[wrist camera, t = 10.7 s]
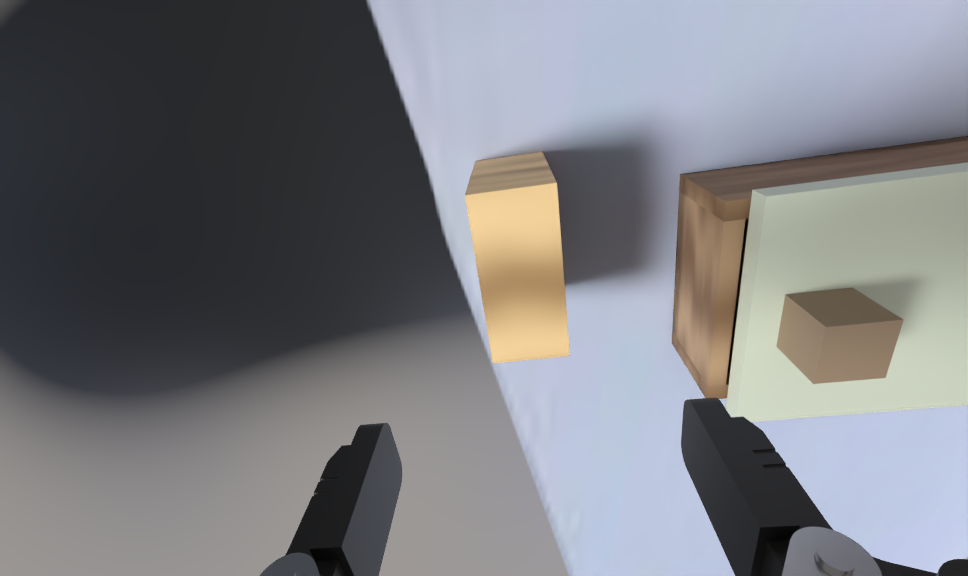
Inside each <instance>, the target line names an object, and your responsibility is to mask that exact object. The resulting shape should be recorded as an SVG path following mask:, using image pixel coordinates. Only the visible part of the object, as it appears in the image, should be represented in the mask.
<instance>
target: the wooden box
mask: <svg viewBox="0 0 968 576" xmlns="http://www.w3.org/2000/svg"><path fill="white" fill-rule="evenodd" d="M967 162H968V136H966V137H958V138H951V139H943V140H936V141H928V142H921V143H913V144H906V145H898V146H891V147H883V148H875V149H868V150H860V151H853V152H845V153H838V154H830V155H823V156H815V157H808V158H800V159H793V160H785V161H778V162H770V163H763V164H755V165H747V166H740V167H732V168H725V169H717V170H710V171H702V172H695V173H687V174H680V188H679V209H678V229H677V250H676V271H675V291H674V312H673V332H672V344H673V346H674V347H675V349H676V351H677V352H678V354H679V356H680V357H681V359H682V360H683V362H684V364H685V365H686V367H687V369H688V370H689V372H690V374H691V375H692V377H693V378H694V380H695V382H696V383H697V385H698V387H699V388H700V390H701V391H702V393H703V395H704V396H705V398H718V399H722V398H727V394H728V386H729V378H730V370H731V361H732V353H733V345H734V337H735V328H736V320H737V312H738V304H739V296H740V287H741V279H742V271H743V263H744V254H745V246H746V238H747V230H748V222H749V213H750V205H751V197H752V190H755V189H763V188H770V187H778V186H786V185H794V184H802V183H810V182H817V181H825V180H833V179H841V178H849V177H857V176H865V175H872V174H880V173H888V172H896V171H904V170H912V169H920V168H927V167H935V166H943V165H951V164H959V163H967Z"/></svg>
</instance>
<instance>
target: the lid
mask: <svg viewBox="0 0 968 576" xmlns="http://www.w3.org/2000/svg"><path fill="white" fill-rule="evenodd" d="M964 405H968V162H967V163H959V164H951V165H943V166H935V167H927V168H920V169H912V170H904V171H896V172H888V173H880V174H872V175H865V176H857V177H849V178H841V179H833V180H825V181H817V182H810V183H802V184H794V185H786V186H778V187H770V188H763V189H755V190H752V197H751V205H750V213H749V222H748V230H747V238H746V246H745V254H744V263H743V271H742V279H741V287H740V296H739V304H738V312H737V320H736V328H735V337H734V345H733V353H732V361H731V370H730V378H729V386H728V394H727V403H726V409H727V411H728V413H729V414H730V416H731V417H745V418H746V419H747V420H749V421H750V422H756V421H769V420H782V419H795V418H808V417H821V416H834V415H847V414H860V413H873V412H886V411H899V410H912V409H925V408H938V407H951V406H964Z"/></svg>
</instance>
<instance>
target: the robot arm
mask: <svg viewBox="0 0 968 576" xmlns="http://www.w3.org/2000/svg"><path fill="white" fill-rule="evenodd" d="M681 448H682V454H683V459H684V462H685V465H686V468H687V470H688V472H689V474H690V477H691V479H692V481H693V483H694V485H695V488H696V490H697V492H698V494H699V496H700V499H701V501H702V503H703V505H704V508H705V510H706V512H707V514H708V516H709V519H710V521H711V523H712V525H713V527H714V530H715V532H716V534H717V536H718V538H719V541H720V543H721V545H722V547H723V549H724V552H725V554H726V556H727V558H728V560H729V563H730V565H731V567H732V569H733V572H734V574H735V576H968V560H966V559H954V560H950V561H947V562H946V563H944V564H943V565H942V566H941V567H940V569H939V571H938V573H937V574H936V573H932V572H928V571H924V570H919V569H915V568H911V567H907V566H902V565H898V564H894V563H890V562H886V561H883V560H880V559H877V558H874V557H872V556H871V555H870V554H869V553H868V552H867V551H866V550H865V549H864V548H863V547H862V546H861V545H859V544H858V543H856V542H855V541H854V540H852V539H850V538H849V537H847V536H845V535H843V534H841V533H839V532H837V531H834V530H833V529H832V528H831V527H830V525H829V524H828V523H827V521H826V520H825V519H824V517H823V516H822V514H821V513H820V511H819V510H818V509H817V507H816V506H815V504H814V503H813V502H812V500H811V499H810V497H809V496H808V494H807V493H806V492H805V490H804V489H803V487H802V486H801V485H800V483H799V482H798V480H797V479H796V478H795V476H794V475H793V473H792V472H791V470H790V469H789V468H788V467H786V463H785V462H784V461H783V459H782V458H781V456H780V455H779V454H778V452H776V451H775V448H774V446H773V445H772V444H771V442H770V441H769V439H768V438H767V437H766V435H765V434H764V432H763V431H762V430H761V429H759V428H758V427H757V426H755V425H754V424H753V423H751V422H750V421H749V420H747V419H746V418H745V417H730V415H729V414H728V412H727V411H726V409H725V407H724V406H723V404H722V403H721V401H720V400H719V399H718V398H703V399H691V400H686V401H685V402H684V410H683V424H682V437H681ZM401 482H402V465H401V460H400V457H399V454H398V451H397V447H396V444H395V441H394V438H393V435H392V432H391V428H390V426H389V424H388V423H380V424H367V425H360V426H359V427H358V429H357V431H356V434H355V436H354V439H353V441H352V444H351V445H346V446H341V447H340V448H339V450H338V451H337V452H336V453H335V454H334V455H333V456H332V457H331V458H330V460H329V461H328V463H327V465H326V467H325V469H324V471H323V473H322V476H321V478H320V482H318V485H317V487H316V489H315V491H314V496H312V498H311V500H310V502H309V505H308V507H307V509H306V512H305V514H304V516H303V518H302V520H301V523H300V525H299V527H298V530H297V531H296V534H295V536H294V538H293V540H292V543H291V545H290V547H289V549H288V551H287V553H286V555H285V556H283V557H281V558H279V559H277V560H276V561H274V562H273V563H272V564H271V565H269V566H268V567H267V568H266V569H265V570H264V571H263V572H262V573H261V574H260V576H378V575H379V571H380V567H381V563H382V559H383V555H384V551H385V547H386V543H387V539H388V535H389V531H390V527H391V523H392V519H393V515H394V511H395V507H396V503H397V499H398V495H399V491H400V487H401Z"/></svg>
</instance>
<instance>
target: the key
mask: <svg viewBox="0 0 968 576" xmlns="http://www.w3.org/2000/svg"><path fill="white" fill-rule="evenodd" d="M465 199H466V205H467V211H468V217H469V223H470V229H471V235H472V241H473V247H474V253H475V259H476V265H477V271H478V277H479V283H480V289H481V295H482V300H483V306H484V312H485V318H486V324H487V330H488V336H489V342H490V348H491V354H492V360H493V363H500V362H511V361H521V360H531V359H542V358H552V357H563V356H570V352H569V338H568V325H567V311H566V298H565V284H564V271H563V257H562V244H561V230H560V217H559V203H558V190H557V182H556V180H555V177H554V175H553V173H552V171H551V169H550V167H549V165H548V162H547V160H546V158H545V156H544V154H543V152H536V153H529V154H522V155H515V156H508V157H501V158H494V159H487V160H480V161H475V164H474V167H473V170H472V174H471V177H470V180H469V183H468V187H467V190H466V193H465Z"/></svg>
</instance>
